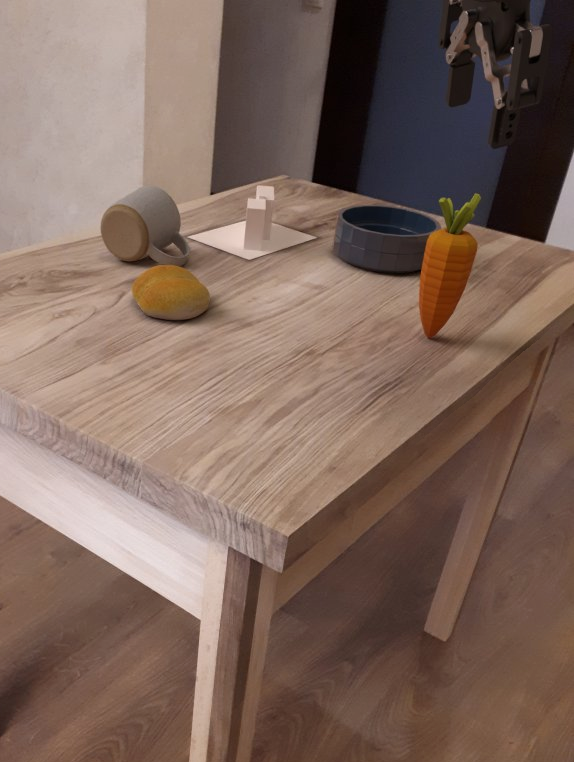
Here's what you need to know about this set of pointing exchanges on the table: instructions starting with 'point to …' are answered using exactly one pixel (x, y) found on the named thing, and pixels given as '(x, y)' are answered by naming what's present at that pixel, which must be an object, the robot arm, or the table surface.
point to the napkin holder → (254, 230)
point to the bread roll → (170, 293)
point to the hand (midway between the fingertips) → (478, 123)
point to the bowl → (383, 237)
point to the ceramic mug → (144, 227)
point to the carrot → (446, 266)
